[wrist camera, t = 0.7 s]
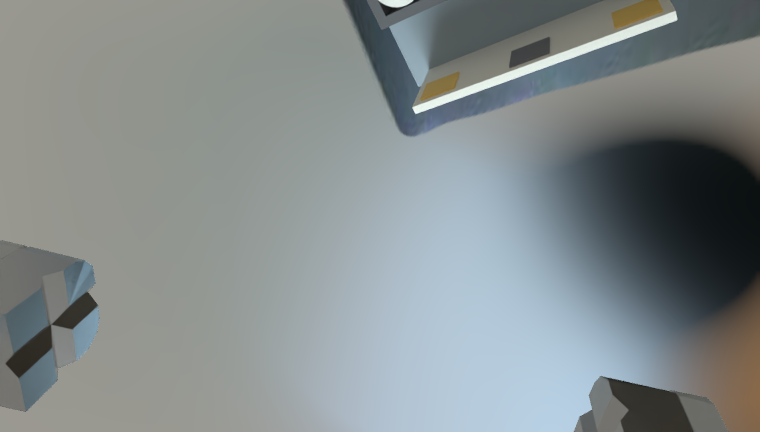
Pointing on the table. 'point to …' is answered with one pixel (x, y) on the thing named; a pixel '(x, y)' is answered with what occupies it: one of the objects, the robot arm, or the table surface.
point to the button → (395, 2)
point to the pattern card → (541, 48)
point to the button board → (462, 26)
